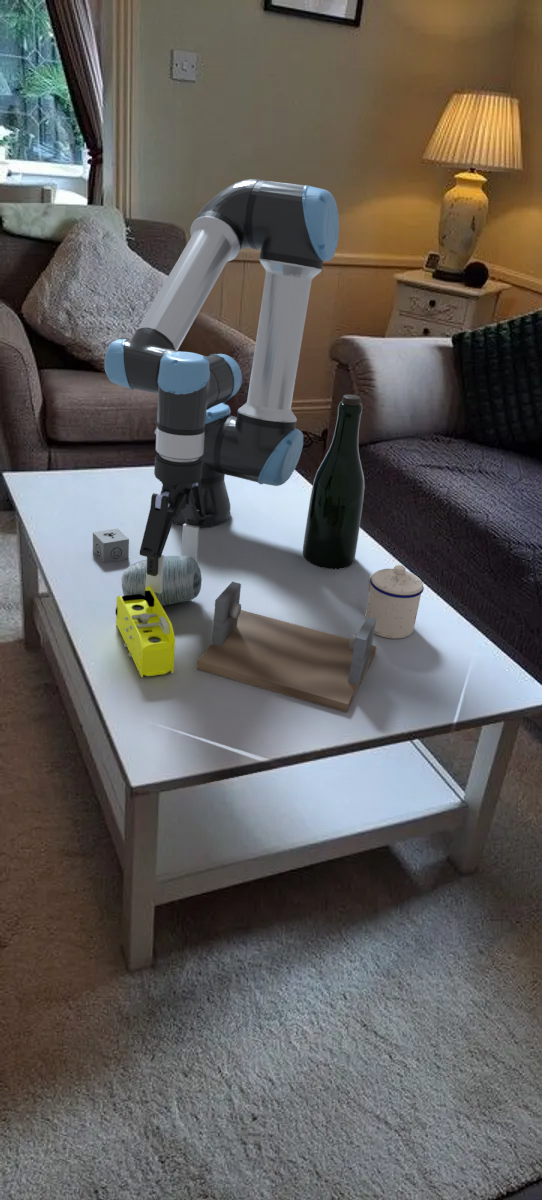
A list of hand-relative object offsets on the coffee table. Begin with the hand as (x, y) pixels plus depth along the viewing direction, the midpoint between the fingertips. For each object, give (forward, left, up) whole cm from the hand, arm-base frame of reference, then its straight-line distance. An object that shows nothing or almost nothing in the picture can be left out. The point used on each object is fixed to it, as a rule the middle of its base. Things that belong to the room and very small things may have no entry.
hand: (171, 574), depth 145 cm
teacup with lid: (-13, +35, -6) cm, 38 cm away
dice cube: (-10, -17, -6) cm, 21 cm away
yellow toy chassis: (+15, +3, -7) cm, 16 cm away
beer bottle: (-32, +19, -6) cm, 38 cm away
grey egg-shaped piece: (0, 0, -6) cm, 6 cm away
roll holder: (+7, +24, -6) cm, 26 cm away
